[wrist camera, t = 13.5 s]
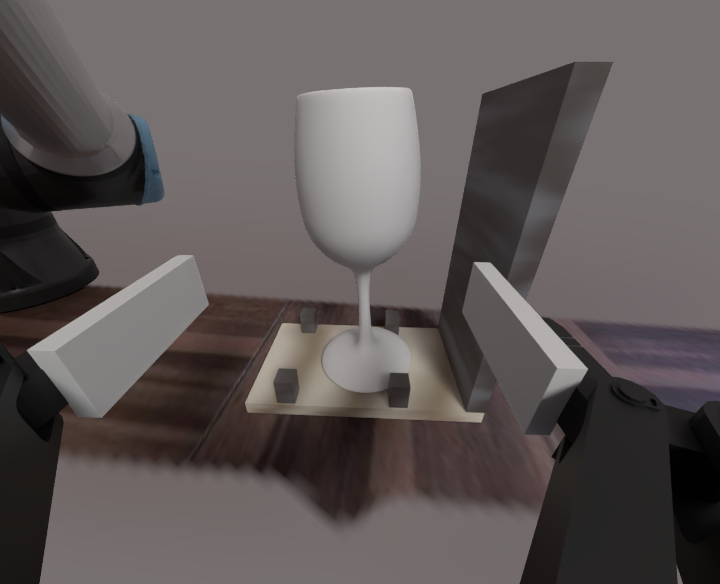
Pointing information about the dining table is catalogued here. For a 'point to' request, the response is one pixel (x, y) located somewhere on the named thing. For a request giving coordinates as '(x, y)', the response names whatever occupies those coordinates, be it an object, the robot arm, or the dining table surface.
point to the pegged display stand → (459, 261)
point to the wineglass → (359, 209)
